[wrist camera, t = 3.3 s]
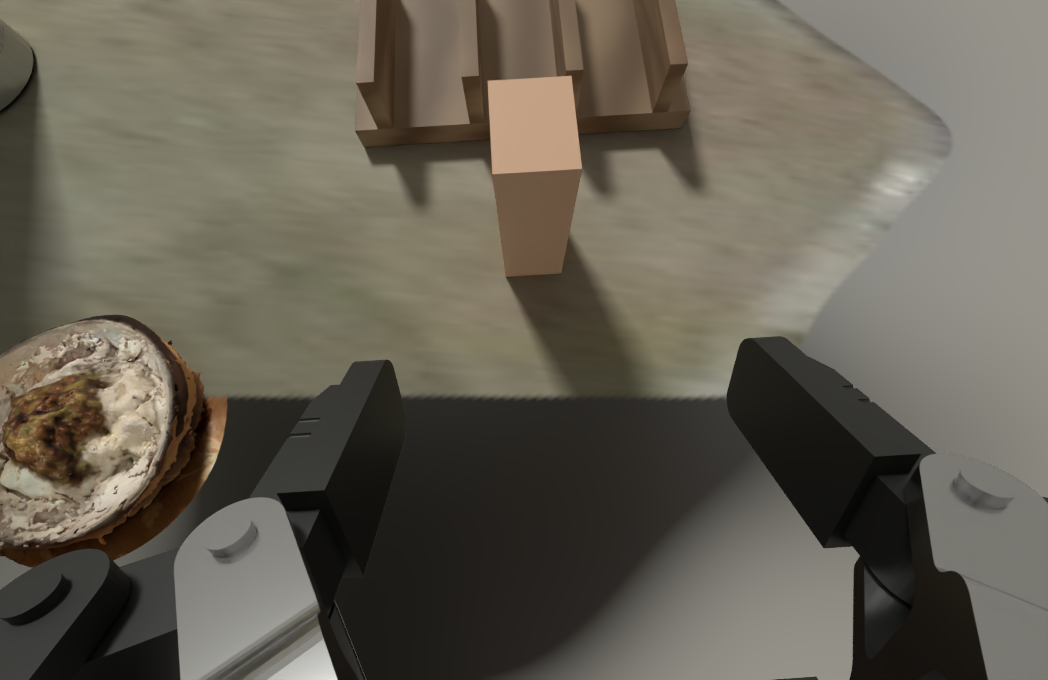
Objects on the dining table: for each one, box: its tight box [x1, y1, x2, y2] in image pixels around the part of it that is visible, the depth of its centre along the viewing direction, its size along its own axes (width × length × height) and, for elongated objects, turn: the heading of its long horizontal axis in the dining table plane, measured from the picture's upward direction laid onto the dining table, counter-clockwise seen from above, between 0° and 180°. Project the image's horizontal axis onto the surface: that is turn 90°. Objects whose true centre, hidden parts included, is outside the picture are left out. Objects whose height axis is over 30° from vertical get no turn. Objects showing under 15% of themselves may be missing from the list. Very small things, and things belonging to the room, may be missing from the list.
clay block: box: [488, 76, 582, 277], centre depth 21 cm, size 4×4×10 cm
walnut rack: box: [355, 0, 690, 147], centre depth 27 cm, size 22×12×5 cm, turn 94°
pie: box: [0, 315, 227, 568], centre depth 22 cm, size 15×15×4 cm
